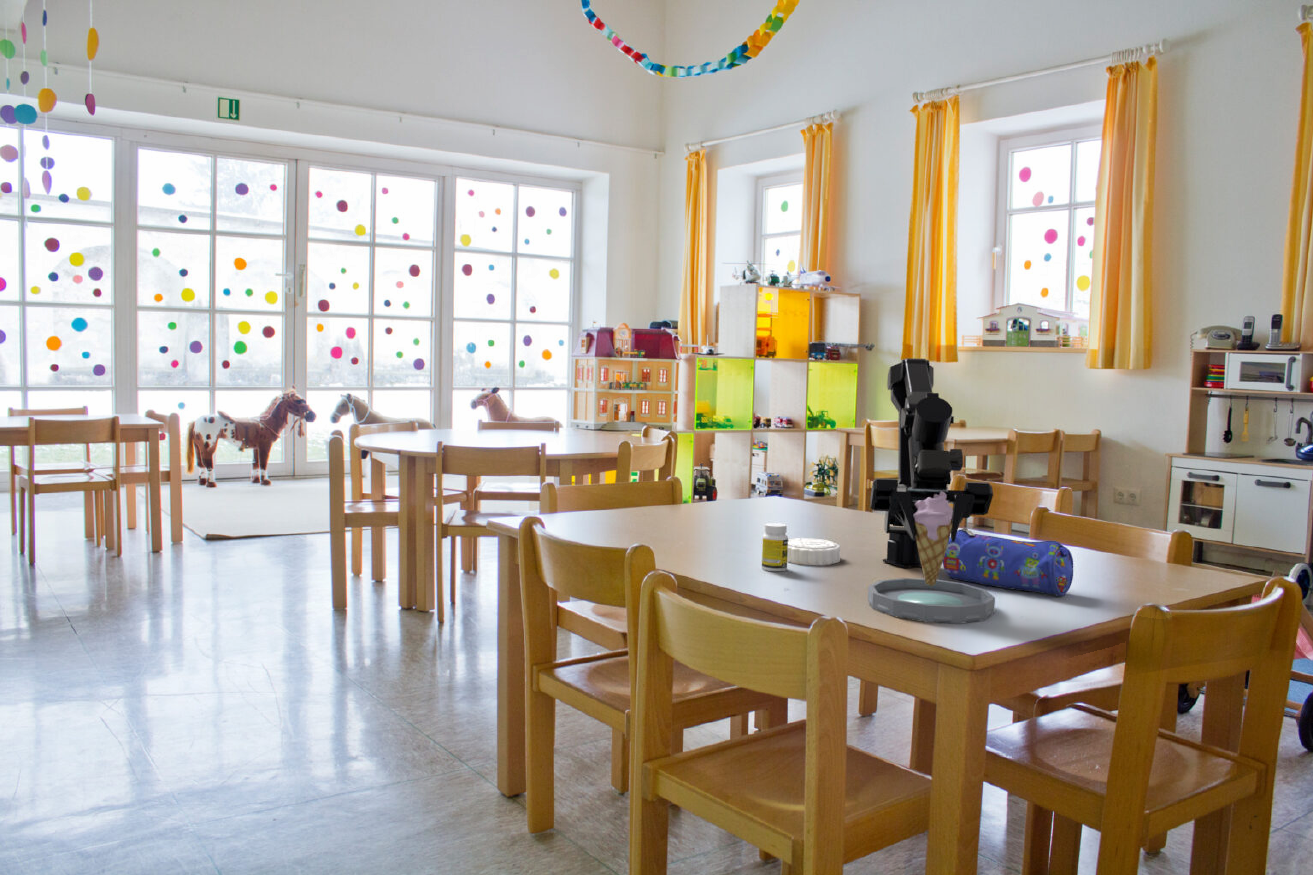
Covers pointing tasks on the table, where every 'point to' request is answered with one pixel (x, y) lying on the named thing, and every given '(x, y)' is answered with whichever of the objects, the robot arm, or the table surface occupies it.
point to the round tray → (931, 600)
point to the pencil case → (1009, 563)
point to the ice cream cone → (932, 533)
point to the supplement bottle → (775, 547)
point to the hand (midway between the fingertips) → (933, 539)
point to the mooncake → (812, 551)
